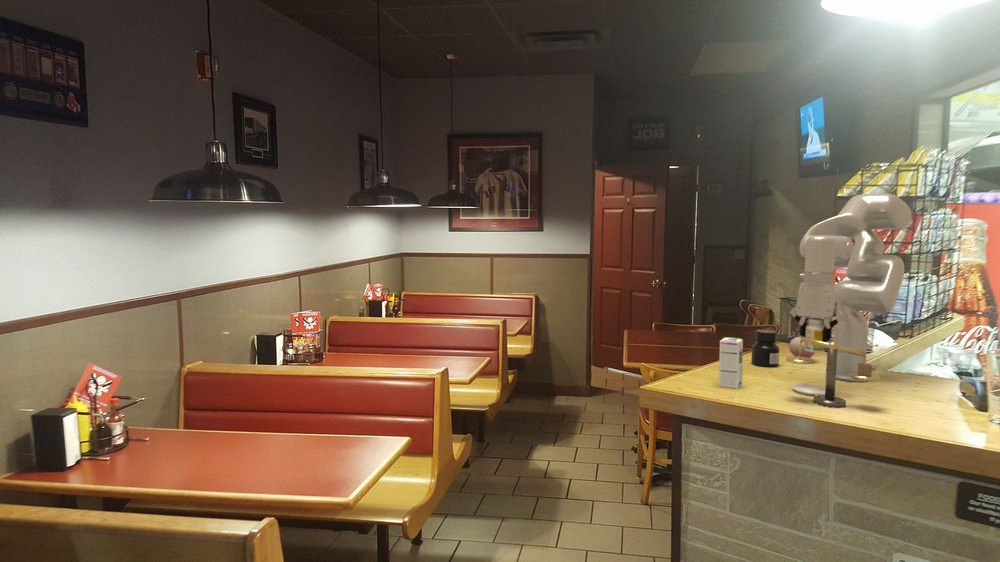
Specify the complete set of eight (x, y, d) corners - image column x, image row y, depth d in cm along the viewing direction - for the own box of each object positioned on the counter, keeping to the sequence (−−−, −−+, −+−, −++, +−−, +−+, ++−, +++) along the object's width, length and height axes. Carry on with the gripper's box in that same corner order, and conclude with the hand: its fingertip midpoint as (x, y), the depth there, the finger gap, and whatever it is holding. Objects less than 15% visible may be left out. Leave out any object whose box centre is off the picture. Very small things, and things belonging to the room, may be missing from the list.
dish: (813, 385, 189) (813, 382, 189) (842, 395, 178) (843, 392, 178) (783, 388, 185) (784, 385, 185) (812, 398, 175) (812, 394, 175)
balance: (784, 394, 179) (787, 333, 177) (876, 405, 168) (880, 340, 167) (783, 401, 172) (786, 337, 170) (878, 413, 161) (883, 345, 159)
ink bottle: (778, 368, 211) (779, 334, 210) (750, 366, 215) (751, 332, 214) (778, 363, 220) (780, 330, 219) (752, 360, 224) (753, 328, 223)
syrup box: (738, 389, 185) (740, 341, 183) (717, 386, 188) (719, 339, 186) (742, 385, 189) (743, 338, 188) (722, 382, 192) (723, 336, 191)
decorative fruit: (783, 358, 228) (784, 332, 227) (804, 358, 229) (805, 331, 228) (798, 364, 219) (799, 336, 218) (819, 363, 220) (821, 336, 219)
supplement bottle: (801, 350, 181) (803, 318, 180) (808, 348, 184) (809, 316, 184) (820, 353, 177) (822, 320, 176) (827, 351, 180) (829, 318, 180)
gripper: (783, 277, 183) (780, 337, 184) (846, 281, 170) (842, 345, 171) (793, 276, 188) (790, 334, 189) (855, 280, 175) (851, 342, 177)
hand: (815, 339), depth 180 cm, fingers closed on supplement bottle, 5 cm apart
